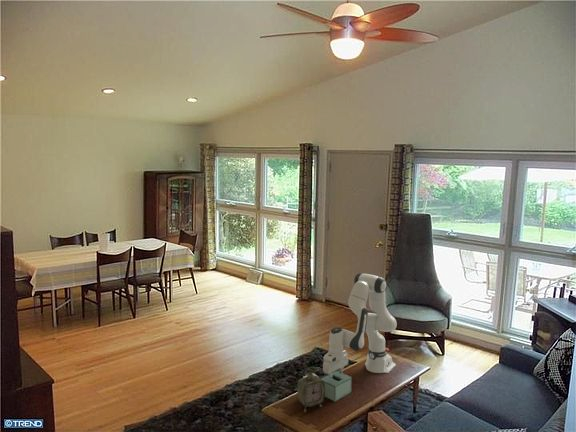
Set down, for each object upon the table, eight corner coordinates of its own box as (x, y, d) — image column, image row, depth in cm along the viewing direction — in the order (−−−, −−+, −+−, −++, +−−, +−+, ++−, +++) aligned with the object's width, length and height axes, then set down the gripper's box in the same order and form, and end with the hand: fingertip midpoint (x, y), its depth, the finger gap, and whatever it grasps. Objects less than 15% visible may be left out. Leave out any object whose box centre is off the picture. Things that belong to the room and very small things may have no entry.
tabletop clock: (303, 414, 258) (303, 372, 255) (295, 407, 266) (295, 366, 263) (324, 407, 265) (325, 367, 262) (316, 400, 273) (316, 361, 270)
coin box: (336, 385, 291) (336, 370, 290) (351, 392, 283) (351, 377, 282) (319, 394, 280) (320, 379, 279) (334, 401, 272) (334, 386, 271)
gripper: (342, 347, 288) (342, 368, 290) (321, 357, 274) (321, 379, 275) (350, 350, 283) (350, 371, 285) (329, 361, 269) (329, 383, 271)
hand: (335, 375), depth 280 cm, fingers open, 8 cm apart
